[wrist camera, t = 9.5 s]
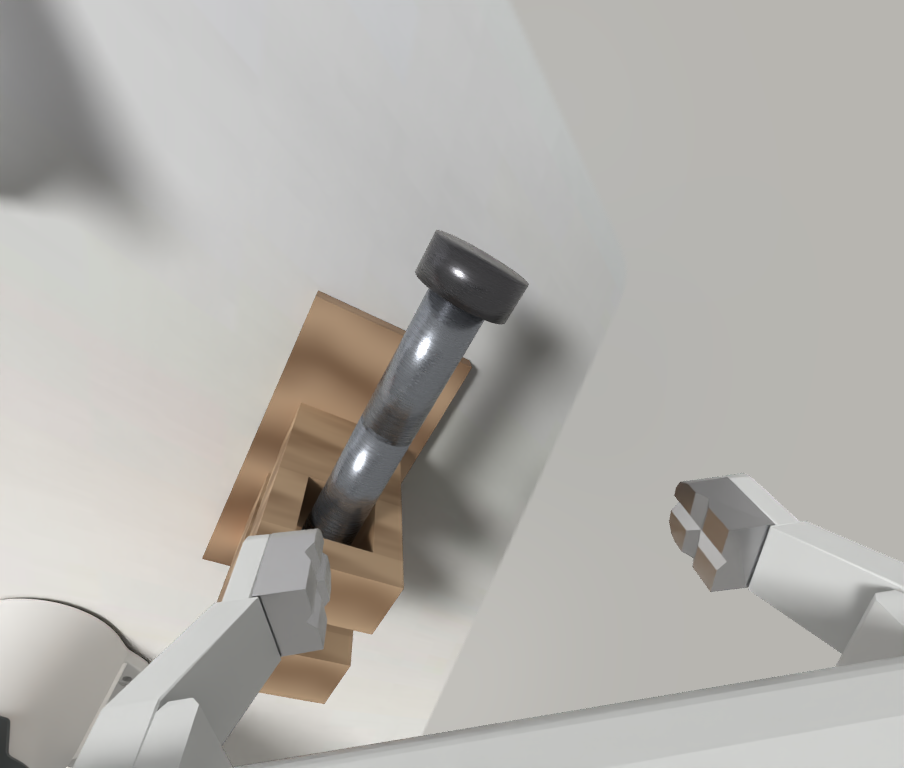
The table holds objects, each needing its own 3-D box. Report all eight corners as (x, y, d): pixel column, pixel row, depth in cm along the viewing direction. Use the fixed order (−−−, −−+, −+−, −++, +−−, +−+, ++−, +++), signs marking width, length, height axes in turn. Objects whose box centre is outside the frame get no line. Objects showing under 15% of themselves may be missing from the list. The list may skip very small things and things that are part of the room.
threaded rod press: (335, 581, 45) (313, 765, 32) (206, 547, 41) (120, 740, 28) (469, 360, 36) (515, 491, 23) (318, 290, 32) (266, 398, 19)
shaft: (324, 588, 33) (314, 654, 29) (256, 571, 32) (235, 638, 28) (514, 268, 24) (541, 296, 20) (431, 222, 23) (441, 242, 18)
